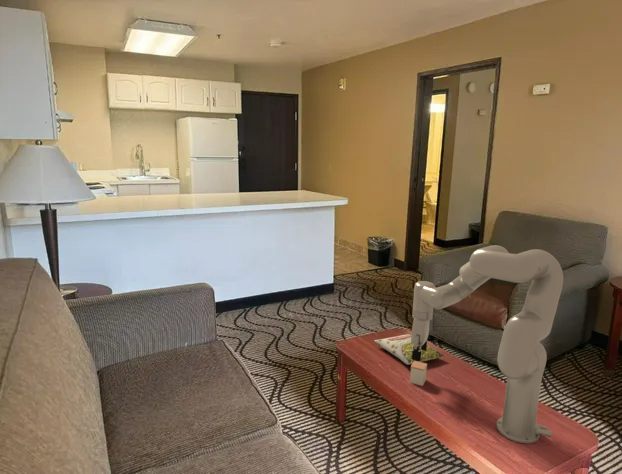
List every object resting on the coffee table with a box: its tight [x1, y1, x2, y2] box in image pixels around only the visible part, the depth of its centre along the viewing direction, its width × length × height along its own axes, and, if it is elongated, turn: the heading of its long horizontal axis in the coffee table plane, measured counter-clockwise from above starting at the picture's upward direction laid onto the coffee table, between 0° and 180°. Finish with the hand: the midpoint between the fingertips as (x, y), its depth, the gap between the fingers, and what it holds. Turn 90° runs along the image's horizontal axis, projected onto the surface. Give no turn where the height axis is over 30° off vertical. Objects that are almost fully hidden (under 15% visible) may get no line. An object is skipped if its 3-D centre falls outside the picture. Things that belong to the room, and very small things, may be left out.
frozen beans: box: [373, 333, 445, 366], centre depth 189 cm, size 21×6×25 cm
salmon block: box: [409, 361, 428, 387], centre depth 166 cm, size 5×5×7 cm
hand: (419, 354), depth 165 cm, fingers open, 9 cm apart
